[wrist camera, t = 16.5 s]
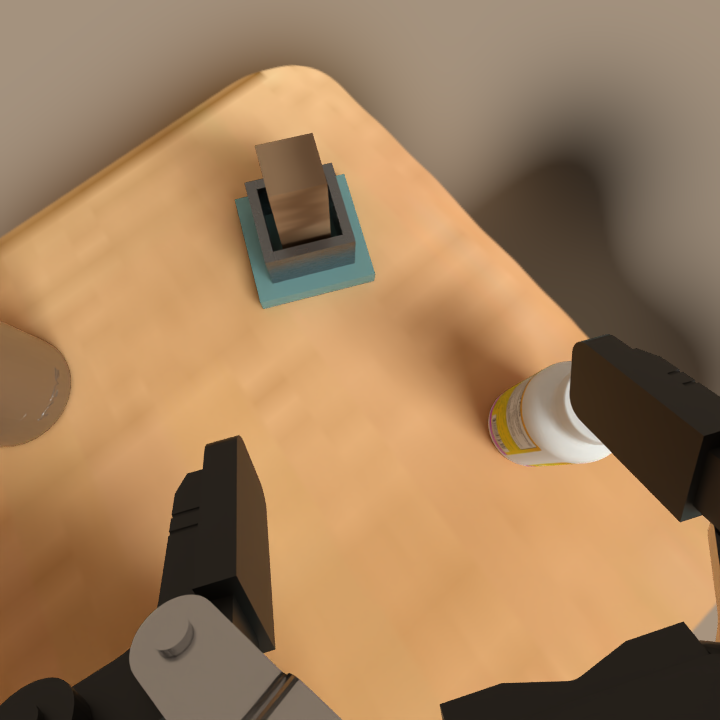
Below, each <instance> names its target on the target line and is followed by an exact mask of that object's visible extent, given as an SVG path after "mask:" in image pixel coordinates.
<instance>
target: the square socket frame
mask: <svg viewBox="0 0 720 720" xmlns="http://www.w3.org/2000/svg"><path fill="white" fill-rule="evenodd" d="M322 167H323V170H324V174H325V177H326V181H327V186H328V200H329V210H330V213H331V217H332V220H333V224H334V227H335V230H336V234H337V236H335V237H331V238H327V239H323V240H319V241H315V242H311V243H307V244H303V245H299V246H295V247H290V248H286V249H282V250H278V251H274V248H273V245H272V241H271V237H270V233H269V229H268V225H267V222H266V218H265V215H269V214H273V212H272V209H271V205H270V202H269V198H268V195H267V191H266V187H265V183H264V179H259V180H255V181H250V182H246V183H245V187H246V191H247V195H248V199H249V203H250V206H251V210H252V214H253V218H254V222H255V226H256V230H257V234H258V238H259V242H260V245H261V249H262V253H263V257H264V261H265V264H266V267H267V270H268V272H269V275H270V277H271V280H272V283H273V284H274V283H278V282H282V281H286V280H290V279H294V278H298V277H302V276H306V275H310V274H314V273H318V272H322V271H326V270H330V269H334V268H338V267H342V266H346V265H350V264H354V263H355V247H356V241H355V237H354V234H353V231H352V227H351V224H350V221H349V218H348V214H347V211H346V208H345V205H344V201H343V198H342V195H341V191H340V188H339V185H338V182H337V178H336V175H335V172H334V168H333V165H332V163H328V164H324V165H322Z"/></svg>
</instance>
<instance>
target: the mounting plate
mask: <svg viewBox="0 0 720 720" xmlns="http://www.w3.org/2000/svg"><path fill="white" fill-rule="evenodd" d="M336 178H337V182H338V185H339V188H340V191H341V195H342V198H343V201H344V205H345V208H346V211H347V214H348V218H349V221H350V224H351V227H352V231H353V234H354V237H355V241H356V247H355V263H354V264H350V265H346V266H342V267H338V268H334V269H330V270H326V271H322V272H318V273H314V274H310V275H306V276H302V277H298V278H294V279H290V280H286V281H282V282H278V283H274V284H273V283H272V280H271V277H270V275H269V272H268V270H267V267H266V264H265V261H264V257H263V253H262V249H261V245H260V242H259V238H258V234H257V230H256V226H255V222H254V218H253V214H252V210H251V206H250V203H249V199H248V197H243V198H239V199H235V203H236V207H237V211H238V215H239V219H240V223H241V227H242V231H243V235H244V239H245V243H246V247H247V251H248V255H249V259H250V263H251V267H252V271H253V275H254V279H255V283H256V287H257V291H258V295H259V299H260V303H261V305H262V307H263V309H265V308H269V307H273V306H277V305H281V304H285V303H289V302H293V301H297V300H301V299H304V298H308V297H312V296H316V295H320V294H324V293H328V292H332V291H336V290H340V289H344V288H348V287H352V286H356V285H359V284H363V283H367V282H371V281H374V278H375V272H374V269H373V266H372V262H371V259H370V256H369V253H368V249H367V246H366V243H365V240H364V236H363V233H362V230H361V227H360V224H359V220H358V217H357V214H356V211H355V207H354V204H353V201H352V198H351V195H350V191H349V188H348V185H347V182H346V178H345V175H344V174H342V175H338V176H336ZM329 215H330V230H331V237H335V236H337V234H336V230H335V227H334V224H333V220H332V217H331V213H330V210H329ZM265 218H266V222H267V225H268V229H269V233H270V237H271V241H272V245H273V248H274V251H278V250H282V249H283V248H282V244H281V241H280V237H279V234H278V230H277V227H276V223H275V220H274V216H273V214H269V215H265Z"/></svg>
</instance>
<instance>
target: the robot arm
mask: <svg viewBox="0 0 720 720" xmlns="http://www.w3.org/2000/svg"><path fill="white" fill-rule="evenodd" d="M70 389H71V376H70V372H69V368H68V365H67V363H66V361H65V359H64V357H63V356H62V354H61V353H60V352H59V351H58V350H57V349H56V348H55V347H54V346H52V345H51V344H49V343H48V342H46V341H44V340H42V339H39V338H37V337H35V336H33V335H30V334H28V333H26V332H24V331H21V330H19V329H17V328H15V327H13V326H11V325H9V324H6V323H4V322H2V321H0V447H10V446H16V445H20V444H24V443H27V442H29V441H31V440H33V439H35V438H37V437H39V436H40V435H42V434H43V433H44V432H46V431H47V430H48V429H49V428H50V427H51V426H52V425H53V424H54V423H55V422H56V421H57V420H58V418H59V417H60V415H61V414H62V412H63V411H64V408H65V406H66V404H67V401H68V399H69V394H70ZM569 397H570V403H571V406H572V409H573V411H574V413H575V415H576V416H577V417H578V419H579V420H580V421H581V422H582V423H583V424H584V425H585V426H586V427H587V428H588V429H589V430H590V431H591V432H592V433H593V434H594V435H595V436H596V437H597V438H598V439H599V440H600V441H601V442H602V443H603V444H604V445H605V446H606V447H607V448H608V449H609V450H610V451H611V452H612V453H613V455H614V456H615V457H616V458H617V459H618V460H619V461H620V462H621V463H622V464H623V465H624V466H625V467H626V468H627V469H628V470H629V471H630V472H631V473H632V474H633V475H634V476H635V477H636V478H637V479H638V480H639V481H640V482H641V483H642V484H643V485H644V486H645V487H646V488H647V489H648V490H649V491H650V492H651V493H652V494H653V495H654V496H655V497H656V498H657V499H658V500H659V501H660V502H661V503H662V504H663V505H664V506H665V507H666V508H667V509H668V510H669V511H670V512H671V514H672V515H673V516H674V517H675V518H676V519H677V520H678V521H679V522H682V521H685V520H689V519H692V518H695V517H698V516H701V515H703V516H704V517H705V518H706V519H707V520H709V521H710V525H709V528H708V541H709V549H710V556H711V564H712V572H713V580H714V587H715V595H716V603H717V611H718V628H717V635H716V642H712V641H701V640H700V641H699V640H698V639H697V638H696V636H695V635H694V634H693V633H692V632H691V630H690V629H689V628H688V627H687V625H686V624H685V623H684V622H681V623H678V624H675V625H672V626H669V627H666V628H663V629H660V630H657V631H654V632H651V633H649V634H646V635H643V636H640V637H637V638H634V639H631V640H628V641H625V642H624V643H623V644H622V645H620V646H619V647H618V648H616V649H615V650H614V651H613V652H611V653H610V654H609V655H608V656H606V657H605V658H604V659H602V660H601V661H600V662H599V663H597V664H596V665H595V666H593V667H592V668H591V669H590V670H588V671H587V672H586V673H585V674H583V675H582V676H581V677H579V678H577V679H575V680H572V681H559V682H527V683H501V684H498V685H495V686H492V687H489V688H486V689H483V690H481V691H478V692H475V693H472V694H469V695H466V696H463V697H460V698H457V699H454V700H451V701H448V702H445V703H442V704H440V709H441V714H442V719H443V720H720V397H719V396H718V395H716V394H715V393H713V392H712V391H711V390H709V389H708V388H706V387H705V386H703V385H702V384H700V383H695V380H694V379H693V378H691V377H690V376H688V375H687V374H685V373H684V372H681V373H680V371H679V369H678V368H676V367H675V366H673V365H672V364H670V363H669V362H667V361H666V360H664V359H663V358H661V357H660V356H657V355H653V354H651V353H648V352H645V351H643V350H640V349H637V348H636V349H632V348H630V347H629V346H627V345H626V344H624V343H623V342H622V341H620V340H619V339H617V338H616V337H614V336H613V335H610V334H606V335H602V336H599V337H595V338H591V339H588V340H584V341H581V342H577V343H576V344H575V345H574V347H573V351H572V363H571V377H570V391H569ZM172 517H173V518H172V519H171V523H170V530H169V532H170V536H168V543H167V549H166V556H165V562H164V569H163V576H162V582H161V589H160V595H159V602H158V606H157V609H156V610H154V611H153V612H152V613H151V614H150V615H149V616H148V617H147V618H146V620H145V621H144V622H143V623H142V625H141V626H140V628H139V629H138V631H137V633H136V635H135V637H134V639H133V642H132V645H131V648H130V649H129V650H127V651H126V652H125V653H124V654H123V655H121V656H120V657H118V658H117V659H115V660H114V661H112V662H111V663H109V664H108V665H106V666H104V667H103V668H101V669H100V670H98V671H97V672H95V673H93V674H92V675H90V676H89V677H87V678H85V679H84V680H82V681H81V682H79V683H78V684H76V685H74V686H73V687H71V686H70V685H69V684H68V683H67V682H65V681H64V680H62V679H59V678H44V679H41V680H37V681H35V682H33V683H30V684H28V685H26V686H25V687H23V688H21V689H20V690H18V691H17V692H16V693H14V694H13V695H11V696H10V697H9V698H8V699H7V700H6V701H5V702H3V703H2V704H1V705H0V720H342V719H341V718H340V717H339V716H338V715H336V714H335V713H334V712H333V711H332V710H331V709H330V708H329V707H328V706H327V705H326V704H325V703H324V702H323V701H322V700H321V699H320V698H319V697H318V696H317V695H316V694H315V693H314V692H313V691H312V690H310V689H309V688H308V687H307V686H306V685H305V684H304V683H303V682H302V681H301V680H299V679H298V678H297V677H296V676H294V675H293V674H290V673H288V675H286V674H285V673H283V672H282V671H281V670H280V669H278V668H277V667H276V666H275V665H274V664H273V663H272V662H271V661H270V660H269V659H268V658H267V657H266V656H265V655H264V654H263V653H265V652H268V651H272V650H275V637H274V621H273V606H272V590H271V574H270V558H269V542H268V527H267V511H266V503H265V497H264V493H263V489H262V486H261V483H260V481H259V478H258V476H257V473H256V471H255V468H254V466H253V464H252V461H251V459H250V456H249V454H248V451H247V449H246V446H245V444H244V442H243V440H242V438H241V436H239V435H238V436H234V437H231V438H227V439H224V440H220V441H216V442H213V443H209V444H206V446H205V451H204V462H203V469H202V470H198V471H195V472H191V473H188V474H187V475H186V476H185V478H184V480H183V481H182V483H181V485H180V486H179V488H178V490H177V491H176V493H175V497H174V503H173V510H172Z"/></svg>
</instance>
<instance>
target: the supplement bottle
mask: <svg viewBox="0 0 720 720" xmlns="http://www.w3.org/2000/svg"><path fill="white" fill-rule="evenodd" d="M571 363H572V361H567V362H560V363H556V364H553V365H551V366H549V367H547V368H545V369H543V370H541V371H540V372H538V373H536V374H534V375H533V376H531V377H529V378H527V379H526V380H524V381H522V382H520V383H519V384H517V385H515V386H513V387H511V388H510V389H508V390H506V391H505V392H504V393H502V394H501V395H500V396H499V397H498V398H497V399H496V400H495V402H494V403H493V405H492V407H491V410H490V413H489V419H488V428H489V433H490V436H491V439H492V441H493V443H494V445H495V446H496V448H497V449H498V450H499V452H500V453H501V454H502V455H503V456H505V457H506V458H507V459H509V460H510V461H512V462H514V463H517V464H519V465H523V466H532V467H536V466H551V465H565V464H582V463H590V462H594V461H598V460H600V459H602V458H604V457H606V456H608V455H609V454H611V453H612V452H611V451H610V450H609V449H608V448H607V447H606V446H605V445H604V444H603V443H602V442H601V441H600V440H599V439H598V438H597V437H596V436H595V435H594V434H593V433H592V432H591V431H590V430H589V429H588V428H587V427H586V426H585V425H584V424H583V423H582V422H581V421H580V420H579V419H578V417H577V416H576V415H575V413H574V411H573V409H572V406H571V403H570V397H569V391H570V377H571Z"/></svg>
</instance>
